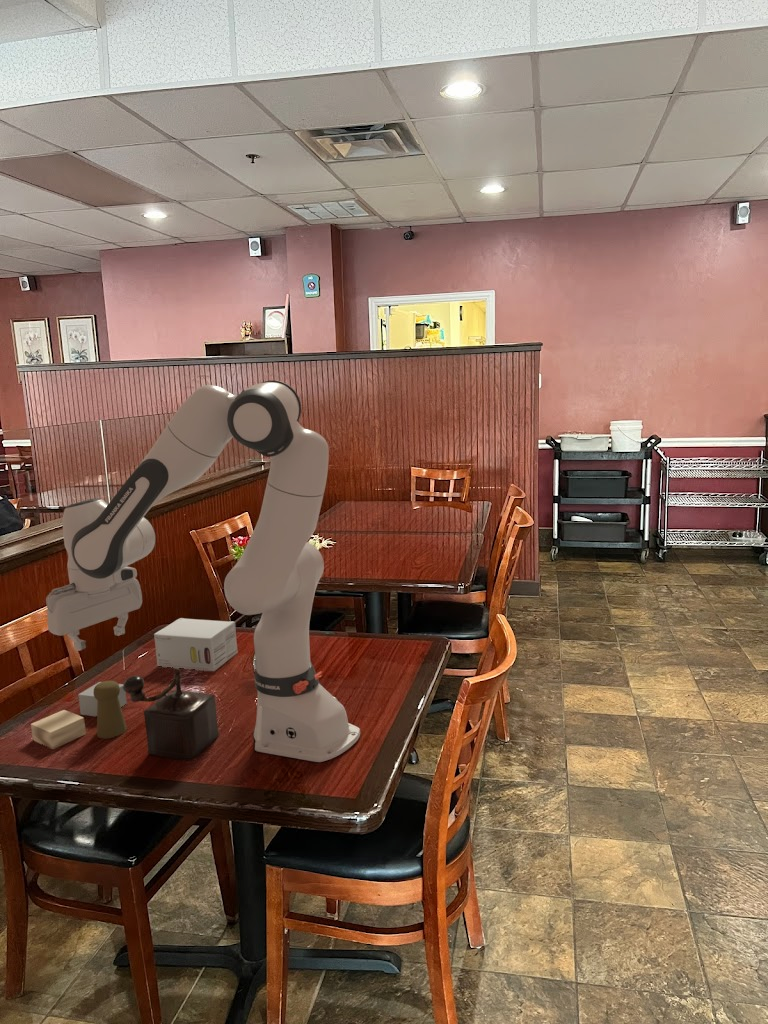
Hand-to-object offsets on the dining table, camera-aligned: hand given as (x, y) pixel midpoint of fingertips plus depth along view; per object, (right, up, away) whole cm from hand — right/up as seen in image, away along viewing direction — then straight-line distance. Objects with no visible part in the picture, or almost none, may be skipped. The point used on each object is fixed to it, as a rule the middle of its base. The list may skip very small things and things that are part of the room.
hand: (100, 641), depth 149 cm
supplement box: (+10, -13, +42) cm, 45 cm away
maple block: (-10, -21, +2) cm, 23 cm away
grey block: (-5, -18, +15) cm, 24 cm away
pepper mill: (+17, -21, -6) cm, 28 cm away
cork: (+1, -20, +4) cm, 20 cm away
